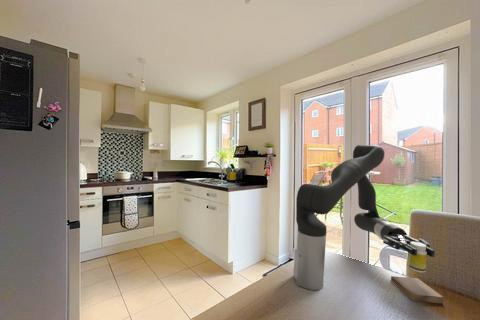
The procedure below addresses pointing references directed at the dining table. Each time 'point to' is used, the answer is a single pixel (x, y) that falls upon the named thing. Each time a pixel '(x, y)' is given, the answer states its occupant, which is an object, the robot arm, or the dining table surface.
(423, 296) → the block
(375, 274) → the dining table surface
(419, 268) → the supplement bottle
